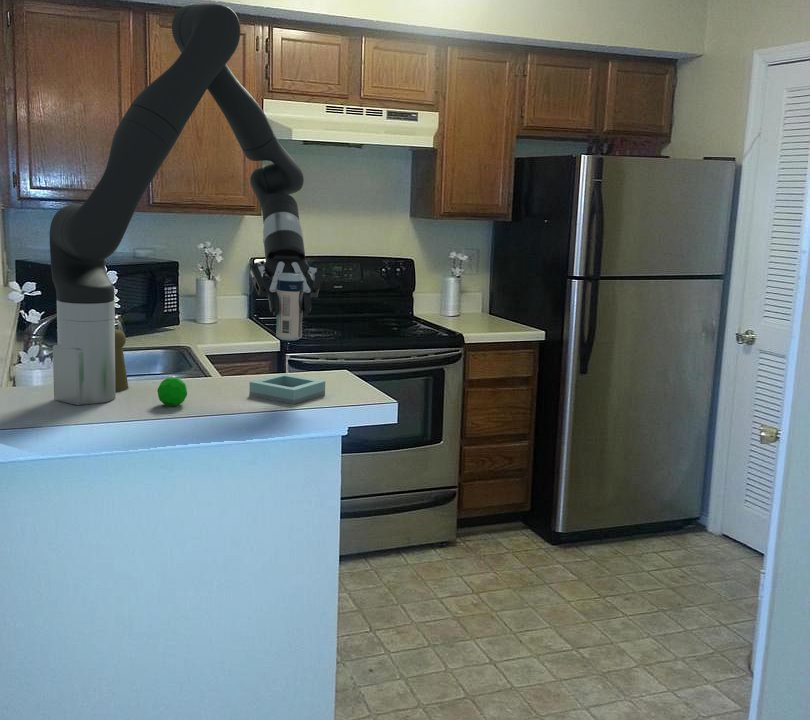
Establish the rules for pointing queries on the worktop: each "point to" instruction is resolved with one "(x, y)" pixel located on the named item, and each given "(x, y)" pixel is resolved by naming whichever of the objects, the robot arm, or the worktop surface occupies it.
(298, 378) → the tray
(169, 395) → the polyhedron
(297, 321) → the beer can
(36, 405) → the worktop surface
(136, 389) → the worktop surface
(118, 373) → the brown pawn
